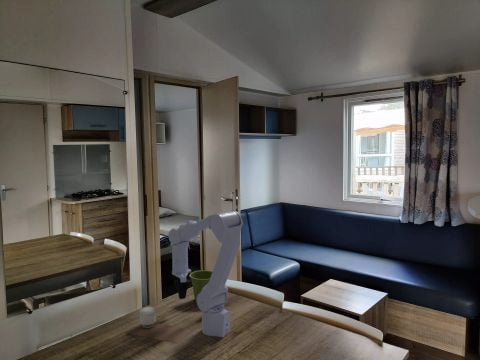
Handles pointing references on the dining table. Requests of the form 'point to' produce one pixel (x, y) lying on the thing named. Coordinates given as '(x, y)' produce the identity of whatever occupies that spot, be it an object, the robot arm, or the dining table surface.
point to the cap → (147, 316)
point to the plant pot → (200, 280)
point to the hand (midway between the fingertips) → (180, 294)
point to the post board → (160, 332)
